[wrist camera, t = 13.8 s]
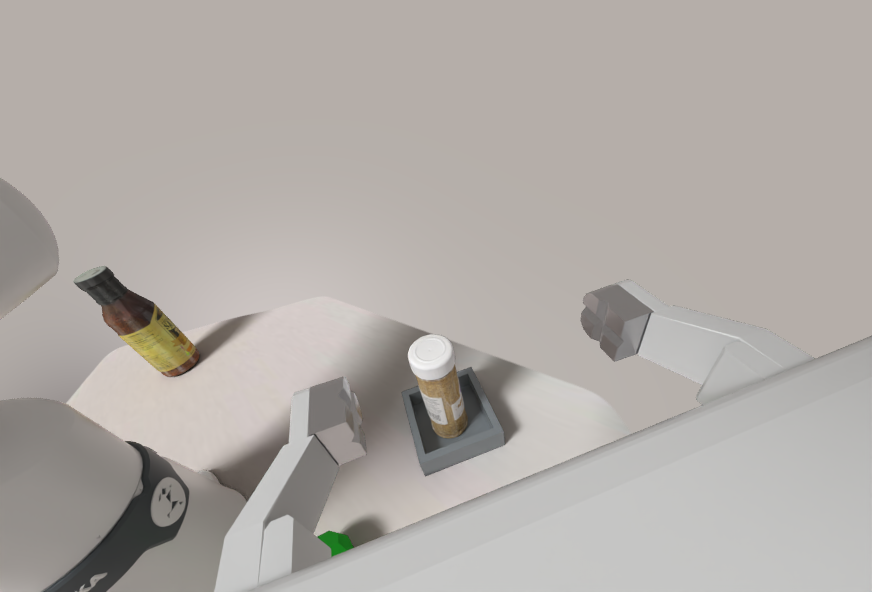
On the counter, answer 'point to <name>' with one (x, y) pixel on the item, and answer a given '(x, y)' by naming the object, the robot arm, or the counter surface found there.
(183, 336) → the sauce bottle
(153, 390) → the counter surface
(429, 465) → the bin
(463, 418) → the sprinkles bottle
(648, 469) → the robot arm
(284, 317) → the counter surface
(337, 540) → the polyhedron
